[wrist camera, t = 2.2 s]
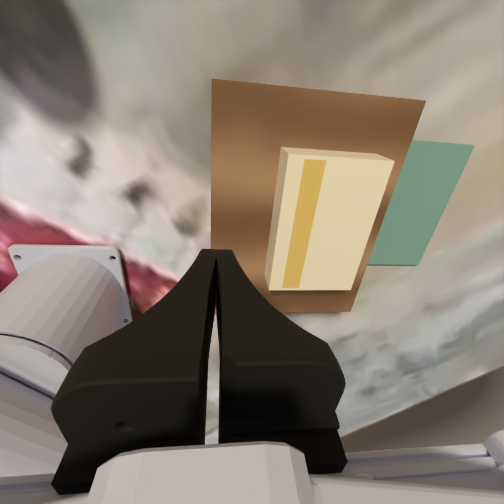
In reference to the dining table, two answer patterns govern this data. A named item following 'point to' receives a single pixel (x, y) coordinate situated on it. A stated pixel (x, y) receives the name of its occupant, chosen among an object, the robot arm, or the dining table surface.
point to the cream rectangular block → (322, 217)
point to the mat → (418, 201)
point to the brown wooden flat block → (267, 161)
